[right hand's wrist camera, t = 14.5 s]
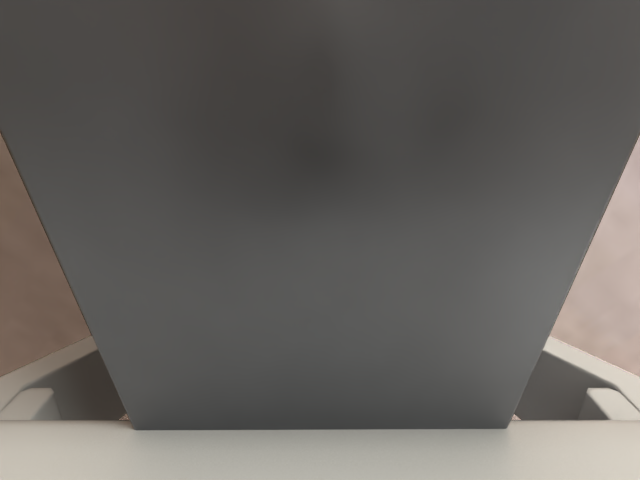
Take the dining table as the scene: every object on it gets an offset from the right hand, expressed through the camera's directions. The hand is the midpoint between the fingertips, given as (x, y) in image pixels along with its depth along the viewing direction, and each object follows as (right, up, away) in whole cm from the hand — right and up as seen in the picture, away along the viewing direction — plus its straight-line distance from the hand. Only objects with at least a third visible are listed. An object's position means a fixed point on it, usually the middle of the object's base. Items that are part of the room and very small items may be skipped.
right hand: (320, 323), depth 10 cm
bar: (0, +9, 0) cm, 9 cm away
